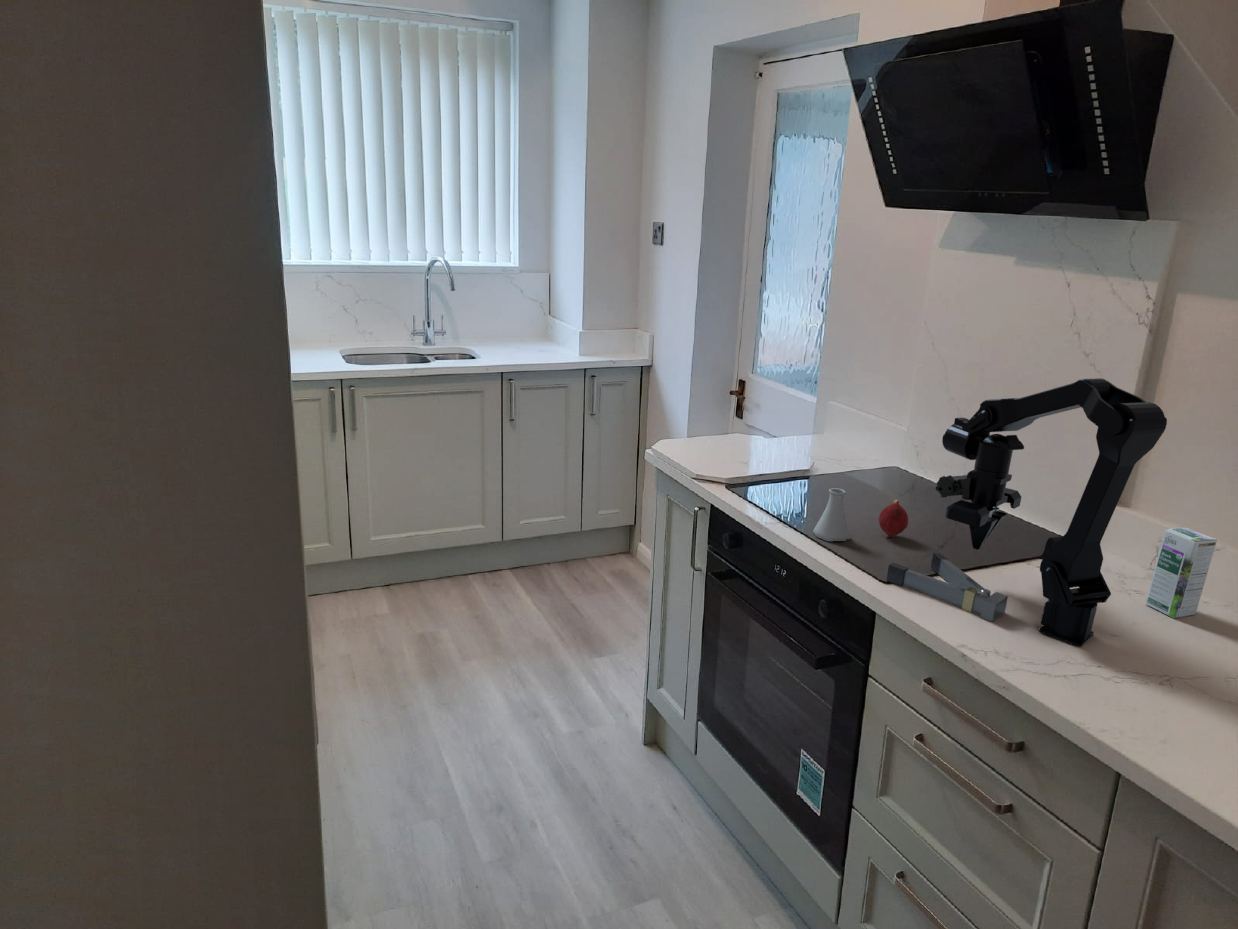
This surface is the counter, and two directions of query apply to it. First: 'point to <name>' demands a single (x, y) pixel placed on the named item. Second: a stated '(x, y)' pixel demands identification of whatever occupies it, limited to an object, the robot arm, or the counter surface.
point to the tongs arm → (955, 574)
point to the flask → (833, 519)
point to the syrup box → (1180, 572)
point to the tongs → (949, 592)
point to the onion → (893, 519)
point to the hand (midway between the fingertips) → (976, 548)
